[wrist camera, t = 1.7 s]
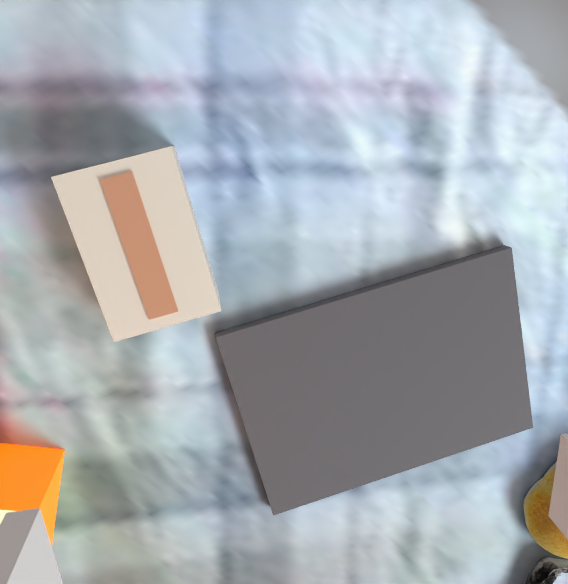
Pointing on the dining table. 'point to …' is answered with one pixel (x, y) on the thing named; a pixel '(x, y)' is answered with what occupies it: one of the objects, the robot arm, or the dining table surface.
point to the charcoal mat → (381, 378)
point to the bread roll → (544, 516)
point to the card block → (139, 242)
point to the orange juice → (30, 480)
